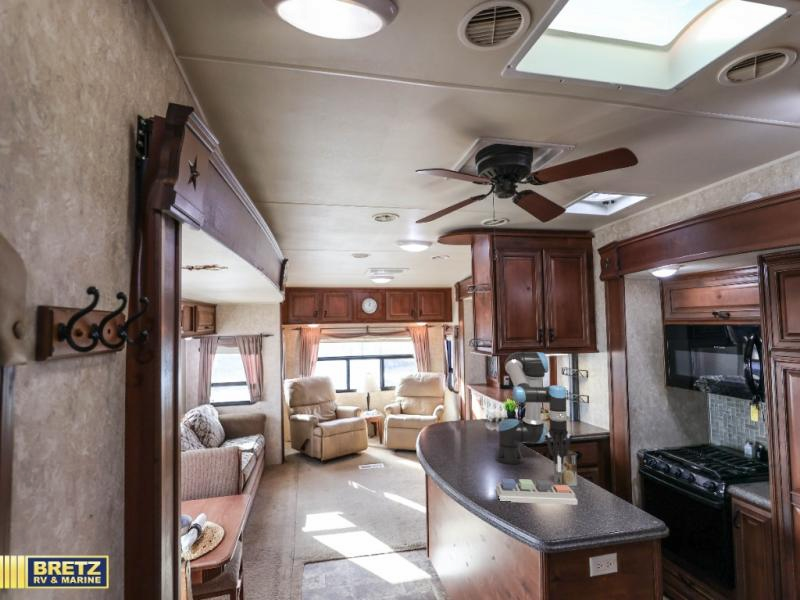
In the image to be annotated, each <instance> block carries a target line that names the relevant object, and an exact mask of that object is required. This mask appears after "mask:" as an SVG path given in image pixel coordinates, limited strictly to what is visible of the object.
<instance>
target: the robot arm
mask: <svg viewBox="0 0 800 600" xmlns="http://www.w3.org/2000/svg"><path fill="white" fill-rule="evenodd" d="M546 355H547V354H545V353H544V352H538V351H516V352H514V353H511V354H509V356H508V357H507V358H506V360H505V361H504V368H505V369H504V370H505V371H506V373H507V374H508V375H509V377H510V379H511V380H510V381H512V385H513V388H512V399H513V401H514V402H515V403H521V404H522V403H523V404H524V403H525V413H524V414H525V416H523V418H522V421H519V420H518V419H517V418H506V419H502V420H501V421H499V423H498V447H497V450H496V455H495V461H496V462H498V463H502V464H508V465H517V464H521V463H522V462H523V456H522V452H521V449H520V443H521V444H523V443H524V444H525V443H526V444H542V443H544V442H545V440H546V444H547V448H548V452H549V454H550V456H552V457H553V464H554V463H555V464H556V470H557V472H561V464H563V458H564V456H567V455H568V450H570V445H571V441H572V439H574V436H573V435H572V434H570V433H569V432H568V430H567V429H568V425H567V389H566V387H565V386H562V385H547V386H542V384H543V383H542V379H543V378H545V374H546V373H548V372H549V363H548V358H547V356H546ZM542 403H543V404H549V410H548V411H549V413H548V414H549V421H548V422H549V429H548V432H547V425H546V423H545V422H544V420H543V418H541V416H542V413H541V412H542ZM550 437H551V439H552V442H553V447H552V443H551V439H550ZM565 438H566V439H565ZM564 440H565V443H564ZM563 450H564V452H563ZM558 451H559V455H560V456H558Z"/></svg>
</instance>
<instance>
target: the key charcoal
mask: <svg viewBox="0 0 800 600" xmlns="http://www.w3.org/2000/svg"><path fill="white" fill-rule="evenodd" d="M535 485H536V486H537V487H538V489H539V490H552V485H553V484H552V483H551V482H550V480H549V479H547V480H546V479H536V480H535Z"/></svg>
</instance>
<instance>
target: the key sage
mask: <svg viewBox="0 0 800 600" xmlns="http://www.w3.org/2000/svg"><path fill="white" fill-rule="evenodd" d="M518 484H519V486H520V487H521V489H531V490H534V485H535V484H534V482H533V480H532V479H528V478H527V479H523V478H521V479H518Z"/></svg>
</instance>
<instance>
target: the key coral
mask: <svg viewBox="0 0 800 600" xmlns="http://www.w3.org/2000/svg"><path fill="white" fill-rule="evenodd" d="M553 485H554V490H555V492H556V493H570V490H569V488H568V487H567V486H566V485H557V484H553Z"/></svg>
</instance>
